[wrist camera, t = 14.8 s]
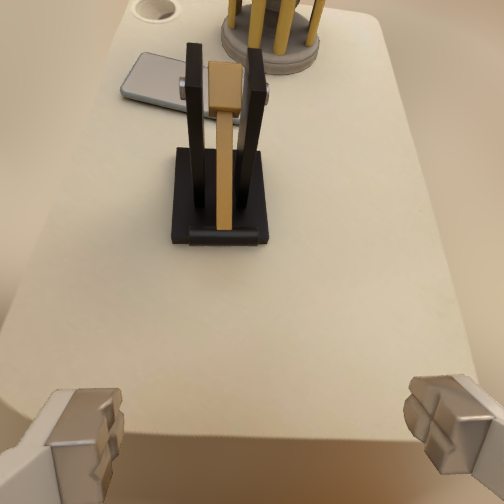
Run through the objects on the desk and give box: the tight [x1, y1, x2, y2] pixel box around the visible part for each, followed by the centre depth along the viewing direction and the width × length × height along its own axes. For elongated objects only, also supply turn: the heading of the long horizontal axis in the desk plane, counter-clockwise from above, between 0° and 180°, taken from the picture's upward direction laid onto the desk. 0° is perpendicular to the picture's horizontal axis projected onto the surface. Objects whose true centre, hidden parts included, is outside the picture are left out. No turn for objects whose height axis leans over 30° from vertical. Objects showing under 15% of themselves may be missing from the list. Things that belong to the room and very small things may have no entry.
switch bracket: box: [171, 43, 269, 244], centre depth 26 cm, size 11×9×14 cm
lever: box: [189, 61, 259, 246], centre depth 22 cm, size 12×5×2 cm
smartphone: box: [120, 52, 244, 125], centre depth 38 cm, size 8×1×15 cm
